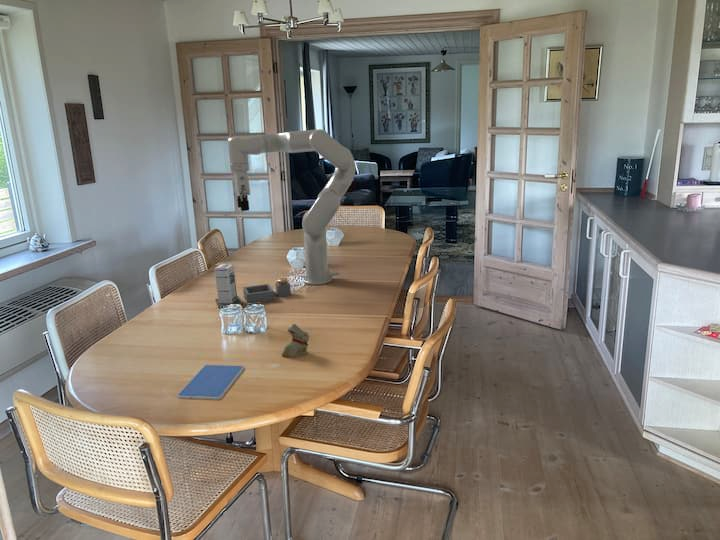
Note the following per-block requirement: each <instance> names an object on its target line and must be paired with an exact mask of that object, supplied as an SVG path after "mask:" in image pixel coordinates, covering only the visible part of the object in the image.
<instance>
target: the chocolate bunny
mask: <svg viewBox="0 0 720 540" xmlns="http://www.w3.org/2000/svg"><path fill="white" fill-rule="evenodd" d="M287 333H289V334H290V335H291V337H292V338H291V339H292V340H291V341H289V342H287V343H286V345H285V346H284V348H283V350H282V352H281V357H285V358H298V357H299V358H300V357H304V356H306V355H307V353H308V350H307V348H308V346H309V343H308V341H309V339H310V335H309V333H308V332H307V331H305V330H302V329H301V328H300V327H299V326H298V325H297V324H296V323H292V324H291V326H290V327H288V328H287Z"/></svg>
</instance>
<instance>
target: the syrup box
mask: <svg viewBox="0 0 720 540" xmlns="http://www.w3.org/2000/svg"><path fill="white" fill-rule="evenodd" d="M214 276H215V277H214V278H215V284H216V293H217V299H218V302H219V303H233V302H234V301H235V300H236V299H237V296H238V292H237V284H236V283H237V282H236V275H235V268H234V264H232V263H230V264H229V263H222V264H220V265H218V266H216V267H215V268H214Z"/></svg>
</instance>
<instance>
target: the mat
mask: <svg viewBox="0 0 720 540" xmlns="http://www.w3.org/2000/svg"><path fill="white" fill-rule="evenodd" d="M215 302H217V303H216V306H217V305H218V306H217V308H218V309H221V308H220V307H223V306H226V305H230V304H241V306H243V304H242V301H241V299H240V297H239V295H237V299H236V300H235V301H234V302H233V303H219V302H218V298H215Z"/></svg>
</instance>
